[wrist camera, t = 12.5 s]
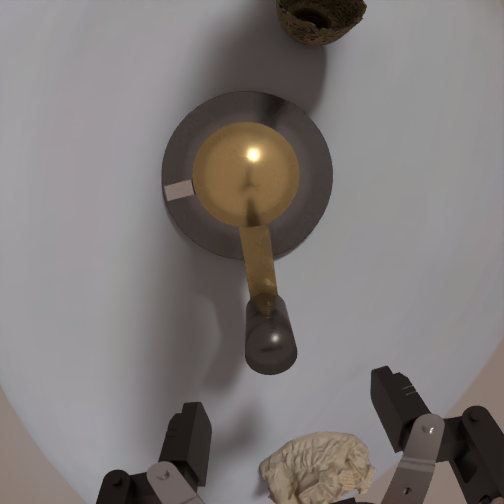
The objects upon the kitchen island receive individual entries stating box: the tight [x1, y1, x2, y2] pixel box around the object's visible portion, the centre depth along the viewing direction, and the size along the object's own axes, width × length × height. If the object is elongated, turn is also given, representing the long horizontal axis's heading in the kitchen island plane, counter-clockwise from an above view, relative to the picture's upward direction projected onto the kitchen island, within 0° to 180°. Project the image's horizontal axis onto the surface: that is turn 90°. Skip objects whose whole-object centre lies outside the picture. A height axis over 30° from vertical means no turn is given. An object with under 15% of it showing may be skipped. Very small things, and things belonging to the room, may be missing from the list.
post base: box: [162, 91, 333, 260], centre depth 24 cm, size 16×16×6 cm
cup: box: [276, 0, 367, 46], centre depth 19 cm, size 8×7×8 cm
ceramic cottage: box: [259, 432, 376, 504], centre depth 32 cm, size 16×16×15 cm
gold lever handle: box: [192, 122, 300, 375], centre depth 18 cm, size 15×7×8 cm, turn 8°
